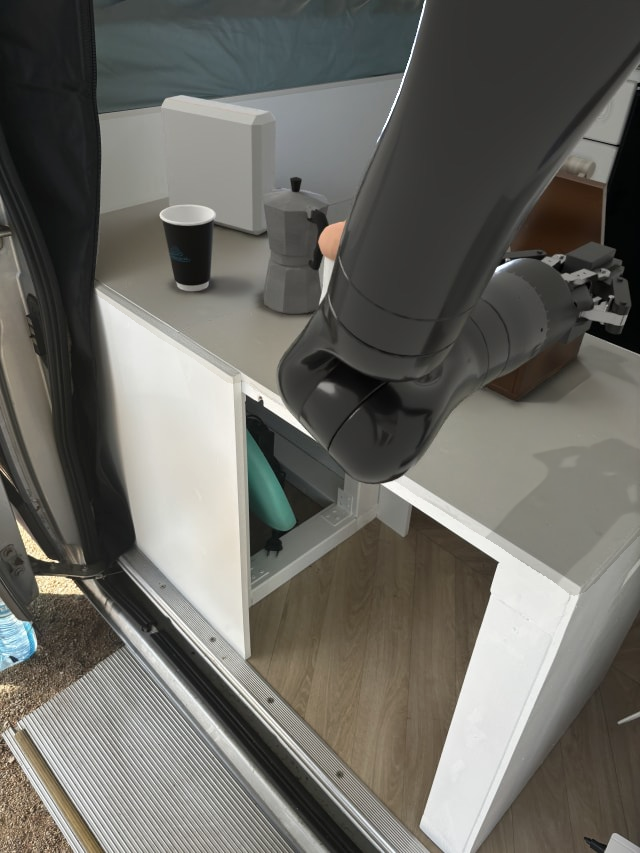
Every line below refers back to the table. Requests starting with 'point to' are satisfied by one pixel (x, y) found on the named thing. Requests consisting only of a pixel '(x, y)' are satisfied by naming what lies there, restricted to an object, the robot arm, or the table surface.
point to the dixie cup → (189, 244)
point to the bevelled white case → (220, 159)
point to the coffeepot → (294, 248)
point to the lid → (566, 212)
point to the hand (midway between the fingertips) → (599, 264)
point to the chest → (536, 369)
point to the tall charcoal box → (590, 260)
